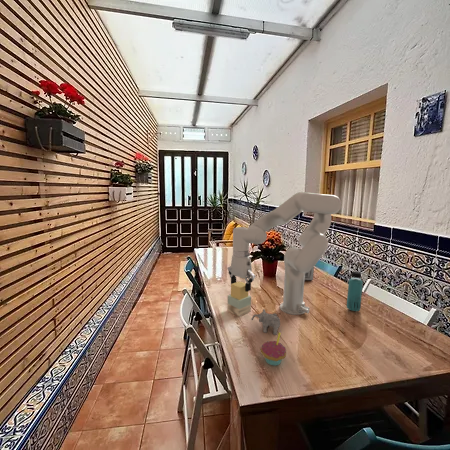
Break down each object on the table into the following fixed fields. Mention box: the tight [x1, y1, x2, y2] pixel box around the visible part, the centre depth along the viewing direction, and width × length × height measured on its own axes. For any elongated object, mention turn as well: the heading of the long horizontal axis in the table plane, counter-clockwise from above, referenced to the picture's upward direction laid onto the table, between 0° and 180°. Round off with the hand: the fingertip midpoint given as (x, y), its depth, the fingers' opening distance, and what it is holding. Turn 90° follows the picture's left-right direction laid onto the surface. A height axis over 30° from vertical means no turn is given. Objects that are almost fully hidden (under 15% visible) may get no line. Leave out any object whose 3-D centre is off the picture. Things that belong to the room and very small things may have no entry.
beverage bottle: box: [346, 271, 363, 312], centre depth 127 cm, size 6×7×20 cm
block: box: [230, 281, 249, 300], centre depth 124 cm, size 6×6×6 cm
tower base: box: [226, 303, 252, 318], centre depth 126 cm, size 8×8×4 cm
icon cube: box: [304, 266, 315, 281], centre depth 174 cm, size 10×10×10 cm
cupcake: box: [260, 330, 287, 366], centre depth 88 cm, size 9×8×12 cm
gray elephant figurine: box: [250, 308, 281, 336], centre depth 109 cm, size 9×12×8 cm
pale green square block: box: [227, 294, 252, 309], centre depth 125 cm, size 8×8×4 cm
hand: (240, 287), depth 124 cm, fingers open, 9 cm apart
